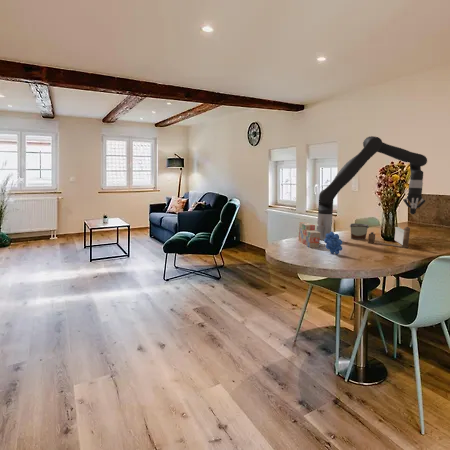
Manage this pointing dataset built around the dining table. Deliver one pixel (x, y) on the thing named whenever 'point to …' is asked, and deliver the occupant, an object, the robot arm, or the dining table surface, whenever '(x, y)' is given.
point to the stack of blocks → (309, 235)
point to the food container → (358, 231)
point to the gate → (399, 235)
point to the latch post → (371, 238)
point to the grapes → (333, 242)
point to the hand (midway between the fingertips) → (412, 214)
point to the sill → (389, 244)
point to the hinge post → (406, 237)
